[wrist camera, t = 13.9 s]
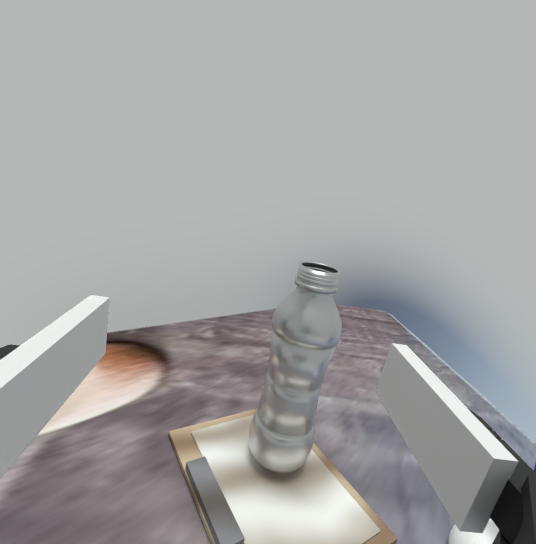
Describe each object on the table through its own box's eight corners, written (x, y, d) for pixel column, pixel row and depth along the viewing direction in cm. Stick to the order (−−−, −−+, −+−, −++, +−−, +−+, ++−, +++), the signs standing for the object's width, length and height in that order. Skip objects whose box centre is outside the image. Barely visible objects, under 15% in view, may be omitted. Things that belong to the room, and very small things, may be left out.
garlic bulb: (550, 614, 24) (600, 532, 23) (503, 643, 22) (556, 552, 20) (472, 531, 30) (507, 460, 28) (427, 545, 27) (464, 468, 25)
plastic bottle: (236, 471, 30) (276, 265, 25) (254, 423, 36) (289, 253, 31) (303, 495, 29) (359, 285, 24) (310, 441, 35) (355, 268, 30)
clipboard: (168, 435, 33) (169, 424, 33) (277, 406, 41) (279, 397, 41) (252, 650, 19) (256, 635, 19) (395, 543, 27) (400, 531, 26)
